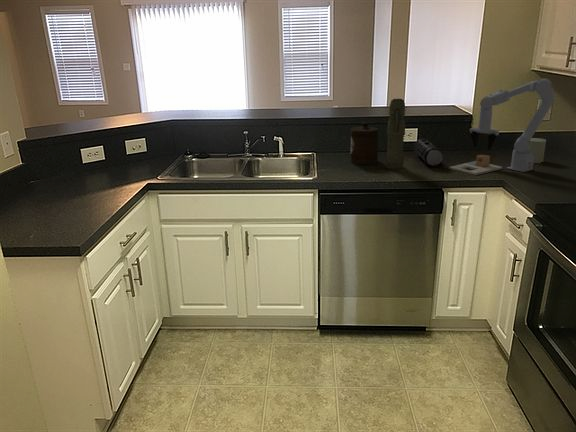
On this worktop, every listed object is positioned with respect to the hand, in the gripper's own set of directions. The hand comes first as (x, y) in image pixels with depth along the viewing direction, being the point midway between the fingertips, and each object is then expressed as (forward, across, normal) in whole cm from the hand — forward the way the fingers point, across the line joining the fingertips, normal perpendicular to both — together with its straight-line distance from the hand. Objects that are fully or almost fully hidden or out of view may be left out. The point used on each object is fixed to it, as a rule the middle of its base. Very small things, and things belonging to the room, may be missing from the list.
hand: (482, 147), depth 244 cm
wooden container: (+10, +51, +32) cm, 61 cm away
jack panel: (+9, -1, +8) cm, 12 cm away
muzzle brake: (+10, +25, +11) cm, 29 cm away
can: (+10, -16, -26) cm, 32 cm away
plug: (+10, -2, +3) cm, 10 cm away
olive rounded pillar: (+10, +31, +32) cm, 45 cm away
